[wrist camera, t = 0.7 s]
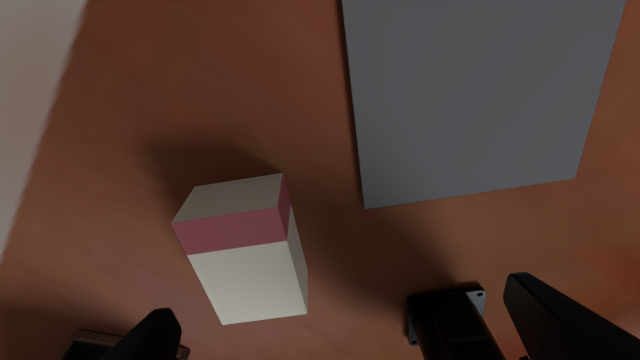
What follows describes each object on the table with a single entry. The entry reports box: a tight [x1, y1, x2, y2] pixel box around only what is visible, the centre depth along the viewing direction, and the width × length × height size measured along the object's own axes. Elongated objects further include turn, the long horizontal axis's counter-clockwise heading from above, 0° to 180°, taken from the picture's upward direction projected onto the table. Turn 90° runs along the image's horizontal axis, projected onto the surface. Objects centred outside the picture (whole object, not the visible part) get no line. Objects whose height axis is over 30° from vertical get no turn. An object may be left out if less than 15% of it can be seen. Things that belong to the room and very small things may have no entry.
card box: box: [170, 173, 308, 325], centre depth 20 cm, size 9×6×4 cm, turn 9°
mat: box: [341, 0, 626, 209], centre depth 16 cm, size 18×14×1 cm
